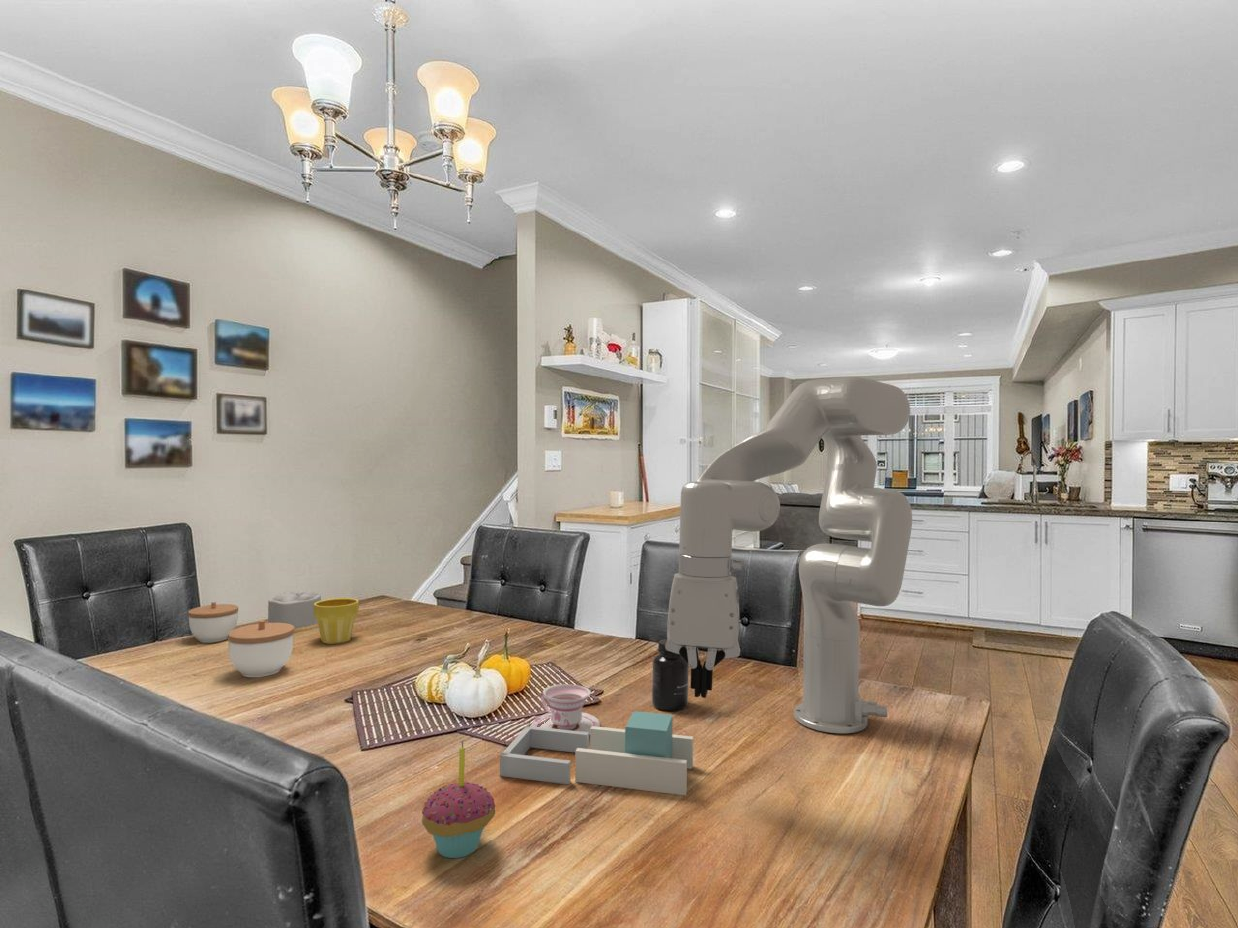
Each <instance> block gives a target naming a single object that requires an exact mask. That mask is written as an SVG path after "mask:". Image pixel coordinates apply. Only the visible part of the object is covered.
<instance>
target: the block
mask: <svg viewBox="0 0 1238 928" xmlns="http://www.w3.org/2000/svg"><path fill="white" fill-rule="evenodd" d="M673 718H674V717H673V714H667V713H657V712H647V711H635V710H633V711H632V713H631V716H630V717H629V719H628V721H627V723H626V725H625V728H624V729H625V753H628V754H637V755H646V756H655V757H663V758H672V734H673V720H674V719H673Z"/></svg>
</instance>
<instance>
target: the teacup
mask: <svg viewBox="0 0 1238 928" xmlns="http://www.w3.org/2000/svg"><path fill="white" fill-rule="evenodd" d="M591 693H592V692H591V690H590V688H587V687H585V686H582V685H578V684H570V683H569V684H567V683H565V684H563V683H562V684H553V685H550V686H547V687H546V688H544V689H543V691H542V692H540V693H539V694H540V696H541V697H540V701H541V704H542V706H543V708H544V710H545V711H546V712H547V713H544V714H542V715H539V716H538V717H536V718H535V719H533V721H532V723H530V724H531V725H530V726H533V727H537V725H538V724H539V723H540V722H541V721H542V720H544V719H548V718H550V719H549V720H548V721H547V722H546V723H545V722H544V724H542V725H541V726H540V727H543V728H552V729H553V726H554V724H555V725H556V727H557V729H561V730H571V731H572V730H574V729H575V728H576V727H577V725H578V728H577V729H575V730H574V731H580V732H589V737H590V728H591V727H592V726H596V727H601V724H600V720H599V719H598V718H597V717H595V716H594V715H592V714H590V713H588V712H583V711H582V710H583V707H584V705H585V702H586V701H587V699H588V698H589V696H590V695H591ZM545 699H546V700H547V702H548V704H547V703H546V700H545ZM548 706H549V707H548Z"/></svg>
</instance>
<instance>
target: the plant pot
mask: <svg viewBox="0 0 1238 928" xmlns="http://www.w3.org/2000/svg"><path fill="white" fill-rule="evenodd" d="M359 605H360V603H359V599H357V598H351V597H342V598H341V597H338V598H337V597H336V598H329V599H328V598H327V599H324V600H322V599H321V601H318V602H316V603H314V617H315V618H316V619H317V622H318V623H317V626H318V630H319V635H320V638H321V639H320V640H321V642H322V643H323V644H327V645H336V644H343V643H347V642H349V641H351V638H352V634H353V630H354V625H355V620H356V616H357V615H358V614H359V610H360V609H359V608H360V607H359Z"/></svg>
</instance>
